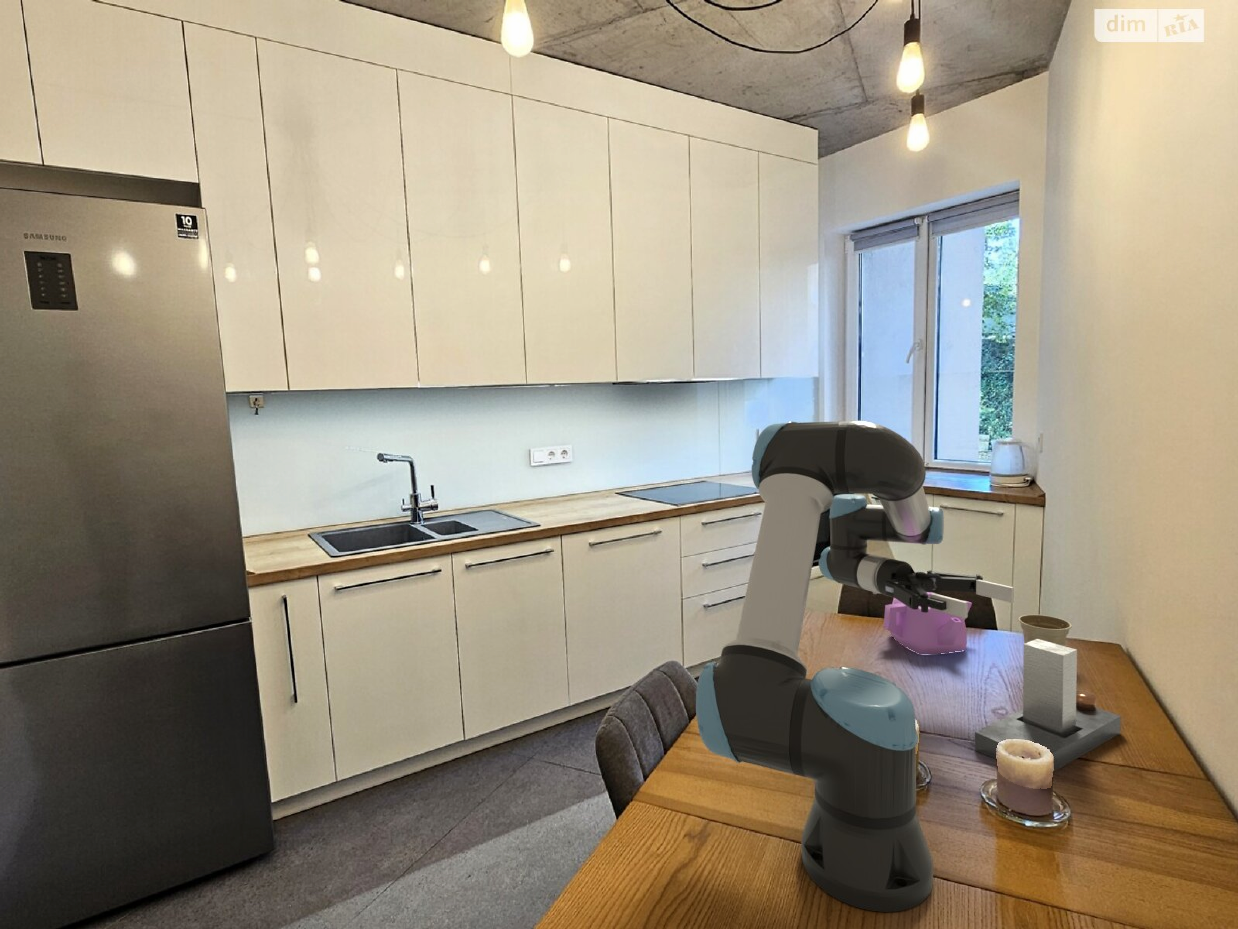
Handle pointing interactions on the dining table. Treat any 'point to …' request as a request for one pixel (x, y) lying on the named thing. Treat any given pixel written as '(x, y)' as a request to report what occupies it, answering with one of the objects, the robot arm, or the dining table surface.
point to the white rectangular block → (1050, 687)
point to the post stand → (1089, 734)
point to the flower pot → (1044, 628)
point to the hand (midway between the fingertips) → (990, 602)
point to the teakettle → (925, 628)
